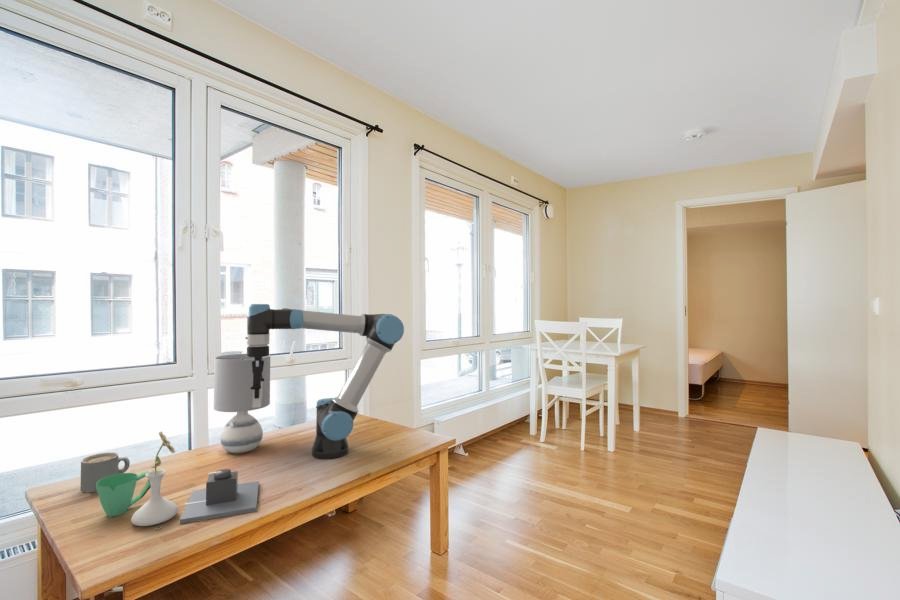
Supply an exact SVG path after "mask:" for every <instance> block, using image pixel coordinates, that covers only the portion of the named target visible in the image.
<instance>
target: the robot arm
mask: <svg viewBox="0 0 900 600" xmlns="http://www.w3.org/2000/svg"><path fill="white" fill-rule="evenodd" d="M246 316H247V317H246V318H247V319H246V329H247V330H246V331H247V332H246V333H247V335H246V336H245V340H246V343H247V347H246V354H247V356H248V357H254V361H252V372H253V386H252V387H251V390H252V389H253V407H252V408H255V407H261V399H262V382H261V381H264V378H263V377H262V372H263V366H264V361H262V358H263V357H265V356H268V355H270V346H269V345H270V330H296V329H297V330H298V329H303V330H304V329H305V330H314V331H315V330H317V331H328V332H339V333H340V332H341V333H352V334H358V335H359V336H360V337H365V340H366V345H365V346H364V348H363V351H362V352H361V353H360V356H359V357H358V360H357V361H356V363H355V365H354V366H353V369H352V370H351V372H350V374H349V376H348V378H347V379H346V381H345V383H344V384H343V386H342V388H341V390H340V392H339V393H338V395H337V396H335V397H327V398H321V399H318V400H317V401H316V406H315V408H316V419H315V420H316V425H315V426H316V433H315V438H314V441H313V444H312V448H311V456H312V457H314V458H316V459H322V460H327V459H328V460H329V459H337V458H340V457H341V458H342V457H343V456H345V455H347V454H348V453H349V450H350V449H349V447H350V446H349V444H348V440H347V437H348V436H349V435H350V434H351V433H352V431H353V429H354V420H355V419H356V417H357V415H358V413H359V409H358V405H359V403H360V401H361V400H362V398H363V396H364V394H365V392H366V390H367V388H368V387H369V385H370V383H371V381H372V379H373V378H374V375H375V373H376V372H377V371H378V368H379V366H380V364H381V362H382V361H383V359H384V357H385V355H386V353H389V352H392V350H393V348H394V346H395V344H397V343H398V342H399V341H400V340H402V338H403V336H404V332H405V326H404V323H403V321H402V320H401V319H400V318H399V317H398V316H396V315H393V314H391V313H378V314H377V313H375V314H373V313H372V314H370V313H369V314H366V313H365V314H364V313H362V314H361V315H353V314H343V313H334V312H325V311H324V312H321V311H312V310H305V309H296V308H293V309H292V308H285V307H284V308H281V309H274V308H273V309H272V308H271V307H270V304H268V303H251V304H248V306H247V314H246Z"/></svg>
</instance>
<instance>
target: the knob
mask: <svg viewBox="0 0 900 600" xmlns="http://www.w3.org/2000/svg"><path fill="white" fill-rule="evenodd" d="M238 474H239V472H238V471H237V470H236V471H232V470H231V469H230V468H229V469H228V468H224V469H219V470H215V471H212V472H208V473H207V475H208V477H207V480H206V483H205V484H206V485H205V489H206V505H212V504H218V503H225V502H231V501H236V497H237V485H238V484H239V483H238V482H239V481H238V480H239V479H238Z"/></svg>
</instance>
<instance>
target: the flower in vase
mask: <svg viewBox="0 0 900 600" xmlns="http://www.w3.org/2000/svg"><path fill="white" fill-rule="evenodd" d="M158 435H159V437H160V439H161V441H162V444H161V446H160V447H159V449H158V451H157V453H156V456H155V460H154V465H153V466H152V467H151V469H153V470H151V471H149V472H148V473H146V474H145V476H146V477H145V478H147V480H148V479H149V481H150V485H151V487H150V497H149V498H148V500H147V501H146V502H145V503H144V504H143V505H141V506H140V507H139V508H138V509H137V510H136V511H135V512H134V513H133V514H132V516H131V518H130V523H132V525H135V526H139V527H149V526H154V525H159V524H161V523H164V522H167V521H168V520H170V519H172V518H173V517H175V516H176V514H178V511H179V507H178V505H177V504H176V503H175V502H173V501H171V500H169V499H166V498H164V497H163V496H162V495H161V484H162V479H163V477H164V475H165V474H166V473H167V470H166V469H157V467H159V466H161V465H162V460H161V459H160V456H159V455H160V454H159V453H160V451H161V450H162V447H166V448H167V450H168V451H169V452H170V453H171V454H175V453H176V451H175V448H174V446H172V445H171V442H170V440H167V436H166V435H165V434H164V433H163V431H159V432H158Z"/></svg>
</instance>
